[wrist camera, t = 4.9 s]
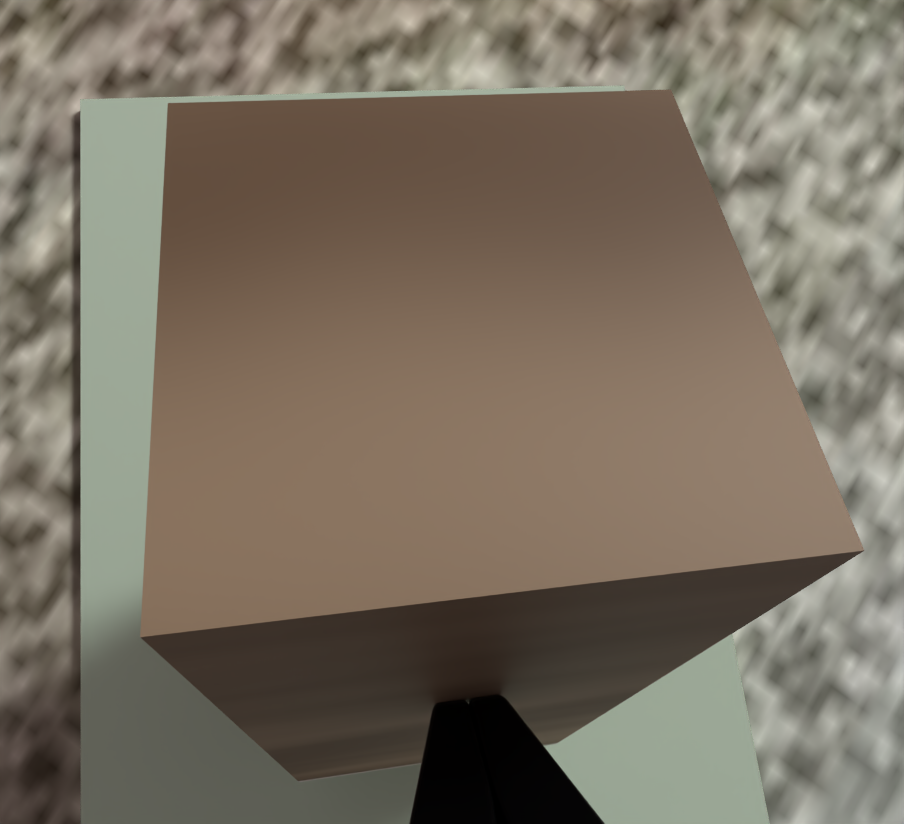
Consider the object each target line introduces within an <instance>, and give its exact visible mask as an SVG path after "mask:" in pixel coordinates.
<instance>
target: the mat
mask: <svg viewBox="0 0 904 824" xmlns="http://www.w3.org/2000/svg"><path fill="white" fill-rule="evenodd" d="M604 91H625V89H624V86H587V87H548V88H508V89H469V90H430V91H391V92H352V93H312V94H273V95H234V96H195V97H156V98H116V99H80V243H81V824H409V822H410V817H411V812H412V807H413V802H414V797H415V792H416V788H417V783H418V778H419V773H420V768H421V764H418V765H411V766H404V767H397V768H391V769H384V770H377V771H371V772H364V773H357V774H351V775H344V776H337V777H330V778H324V779H317V780H310V781H304V782H298V781H297V780H296V779H295V778H294V777H293V776H292V775H291V774H290V773H289V772H288V771H286V770H285V769H284V768H283V767H282V766H281V765H280V764H279V763H278V762H277V761H275V760H274V759H273V758H272V757H271V756H270V755H269V754H268V753H267V752H266V751H264V750H263V749H262V748H261V747H260V746H259V745H258V744H257V743H256V742H255V741H254V740H252V739H251V738H250V737H249V736H248V735H247V734H246V733H245V732H244V731H243V730H241V729H240V728H239V727H238V726H237V725H236V724H235V723H234V722H233V721H232V720H230V719H229V718H228V717H227V716H226V715H225V714H224V713H223V712H222V711H221V710H220V709H218V708H217V707H216V706H215V705H214V704H213V703H212V702H211V701H210V700H209V699H207V698H206V697H205V696H204V695H203V694H202V693H201V692H200V691H199V690H198V689H196V688H195V687H194V686H193V685H192V684H191V683H190V682H189V681H188V680H187V679H186V678H184V677H183V676H182V675H181V674H180V673H179V672H178V671H177V670H176V669H175V668H173V667H172V666H171V665H170V664H169V663H168V662H167V661H166V660H165V659H164V658H162V657H161V656H160V655H159V654H158V653H157V652H156V651H155V650H154V649H153V648H152V647H150V646H149V645H148V644H147V643H146V642H145V641H144V640H143V639H142V638H141V637H140V631H141V612H142V593H143V573H144V554H145V535H146V515H147V496H148V476H149V457H150V438H151V418H152V399H153V380H154V360H155V341H156V321H157V302H158V283H159V263H160V244H161V225H162V205H163V186H164V166H165V147H166V128H167V108H168V103H189V102H227V101H264V100H302V99H340V98H377V97H415V96H453V95H491V94H528V93H566V92H604ZM544 747H545V748H546V750H547V751H548V752H549V753H550V755H551V756H552V757H553V758H554V760H555V761H556V762H557V763H558V765H559V766H560V767H561V769H562V770H563V771H564V772H565V774H566V775H567V776H568V777H569V779H570V780H571V781H572V783H573V784H574V785H575V786H576V788H577V789H578V790H579V791H580V793H581V794H582V795H583V797H584V798H585V799H586V800H587V802H588V803H589V804H590V805H591V807H592V808H593V809H594V810H595V812H596V813H597V814H598V816H599V817H600V818H601V819H602V821H603V822H604V823H605V824H770V823H769V818H768V813H767V808H766V803H765V798H764V793H763V788H762V783H761V778H760V773H759V767H758V762H757V757H756V752H755V747H754V742H753V737H752V732H751V727H750V722H749V717H748V712H747V707H746V702H745V697H744V691H743V686H742V681H741V676H740V671H739V666H738V661H737V656H736V651H735V646H734V641H733V636H732V634H730V635H729V636H727V637H726V638H724V639H723V640H721V641H719V642H718V643H716V644H715V645H713V646H711V647H710V648H708V649H707V650H705V651H703V652H702V653H700V654H699V655H697V656H695V657H694V658H692V659H691V660H689V661H687V662H686V663H684V664H683V665H681V666H679V667H678V668H676V669H675V670H673V671H672V672H670V673H668V674H667V675H665V676H664V677H662V678H660V679H659V680H657V681H656V682H654V683H652V684H651V685H649V686H648V687H646V688H644V689H643V690H641V691H640V692H638V693H636V694H635V695H633V696H632V697H630V698H629V699H627V700H625V701H624V702H622V703H621V704H619V705H617V706H616V707H614V708H613V709H611V710H609V711H608V712H606V713H605V714H603V715H601V716H600V717H598V718H597V719H595V720H593V721H592V722H590V723H589V724H587V725H585V726H584V727H582V728H581V729H579V730H578V731H576V732H574V733H573V734H571V735H570V736H568V737H566V738H565V739H563V740H562V741H560V742H558V743H557V744H552V745H545V746H544Z"/></svg>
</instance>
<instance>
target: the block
mask: <svg viewBox="0 0 904 824" xmlns="http://www.w3.org/2000/svg"><path fill="white" fill-rule="evenodd" d="M863 551H864V549H863V546H862V544H861V542H860V539H859V537H858V534H857V532H856V530H855V527H854V525H853V523H852V520H851V518H850V515H849V513H848V511H847V508H846V506H845V503H844V501H843V499H842V496H841V494H840V492H839V489H838V487H837V484H836V482H835V480H834V477H833V475H832V473H831V470H830V468H829V465H828V463H827V461H826V458H825V456H824V453H823V451H822V449H821V446H820V444H819V442H818V439H817V437H816V434H815V432H814V430H813V427H812V425H811V422H810V420H809V418H808V415H807V413H806V411H805V408H804V406H803V403H802V401H801V399H800V396H799V394H798V391H797V389H796V387H795V384H794V382H793V380H792V377H791V375H790V372H789V370H788V368H787V365H786V363H785V360H784V358H783V356H782V353H781V351H780V349H779V346H778V344H777V341H776V339H775V337H774V334H773V332H772V330H771V327H770V325H769V322H768V320H767V318H766V315H765V313H764V310H763V308H762V306H761V303H760V301H759V299H758V296H757V294H756V291H755V289H754V287H753V284H752V282H751V279H750V277H749V275H748V272H747V270H746V268H745V265H744V263H743V260H742V258H741V256H740V253H739V251H738V248H737V246H736V244H735V241H734V239H733V237H732V234H731V232H730V229H729V227H728V225H727V222H726V220H725V217H724V215H723V213H722V210H721V208H720V206H719V203H718V201H717V198H716V196H715V194H714V191H713V189H712V186H711V184H710V182H709V179H708V177H707V175H706V172H705V170H704V167H703V165H702V163H701V160H700V158H699V156H698V153H697V151H696V148H695V146H694V144H693V141H692V139H691V136H690V134H689V132H688V129H687V127H686V125H685V122H684V120H683V117H682V115H681V113H680V110H679V108H678V105H677V103H676V101H675V98H674V96H673V94H672V91H671V90H641V91H604V92H566V93H528V94H491V95H453V96H415V97H377V98H340V99H302V100H264V101H227V102H189V103H168V108H167V128H166V147H165V166H164V186H163V205H162V225H161V244H160V263H159V283H158V302H157V321H156V341H155V360H154V380H153V399H152V418H151V438H150V457H149V476H148V496H147V515H146V535H145V554H144V573H143V593H142V612H141V631H140V637H141V638H142V639H143V640H144V641H145V642H146V643H147V644H148V645H149V646H150V647H152V648H153V649H154V650H155V651H156V652H157V653H158V654H159V655H160V656H161V657H162V658H164V659H165V660H166V661H167V662H168V663H169V664H170V665H171V666H172V667H173V668H175V669H176V670H177V671H178V672H179V673H180V674H181V675H182V676H183V677H184V678H186V679H187V680H188V681H189V682H190V683H191V684H192V685H193V686H194V687H195V688H196V689H198V690H199V691H200V692H201V693H202V694H203V695H204V696H205V697H206V698H207V699H209V700H210V701H211V702H212V703H213V704H214V705H215V706H216V707H217V708H218V709H220V710H221V711H222V712H223V713H224V714H225V715H226V716H227V717H228V718H229V719H230V720H232V721H233V722H234V723H235V724H236V725H237V726H238V727H239V728H240V729H241V730H243V731H244V732H245V733H246V734H247V735H248V736H249V737H250V738H251V739H252V740H254V741H255V742H256V743H257V744H258V745H259V746H260V747H261V748H262V749H263V750H264V751H266V752H267V753H268V754H269V755H270V756H271V757H272V758H273V759H274V760H275V761H277V762H278V763H279V764H280V765H281V766H282V767H283V768H284V769H285V770H286V771H288V772H289V773H290V774H291V775H292V776H293V777H294V778H295V779H296V780H297V781H298V782H304V781H310V780H317V779H324V778H330V777H337V776H344V775H351V774H357V773H364V772H371V771H377V770H384V769H391V768H397V767H404V766H411V765H418V764H421V763H422V758H423V753H424V748H425V743H426V738H427V733H428V728H429V723H430V718H431V713H432V709H433V707H434V705H435V704H436V703H441V702H448V701H455V700H465V701H467V703H468V704H469V701H470V700H471V699H473V698H477V697H484V696H491V695H502V696H503V697H505V698H506V699H507V700H508V701H509V703H510V704H511V705H512V706H513V708H514V709H515V710H516V711H517V713H518V714H519V715H520V717H521V718H522V719H523V720H524V722H525V723H526V724H527V725H528V727H529V728H530V729H531V730H532V732H533V733H534V734H535V736H536V737H537V738H538V739H539V741H540V742H541V743H542V744H543V746H545V745H552V744H557V743H558V742H560V741H562V740H563V739H565V738H566V737H568V736H570V735H571V734H573V733H574V732H576V731H578V730H579V729H581V728H582V727H584V726H585V725H587V724H589V723H590V722H592V721H593V720H595V719H597V718H598V717H600V716H601V715H603V714H605V713H606V712H608V711H609V710H611V709H613V708H614V707H616V706H617V705H619V704H621V703H622V702H624V701H625V700H627V699H629V698H630V697H632V696H633V695H635V694H636V693H638V692H640V691H641V690H643V689H644V688H646V687H648V686H649V685H651V684H652V683H654V682H656V681H657V680H659V679H660V678H662V677H664V676H665V675H667V674H668V673H670V672H672V671H673V670H675V669H676V668H678V667H679V666H681V665H683V664H684V663H686V662H687V661H689V660H691V659H692V658H694V657H695V656H697V655H699V654H700V653H702V652H703V651H705V650H707V649H708V648H710V647H711V646H713V645H715V644H716V643H718V642H719V641H721V640H723V639H724V638H726V637H727V636H729V635H730V634H732V633H734V632H735V631H737V630H738V629H740V628H742V627H743V626H745V625H746V624H748V623H750V622H751V621H753V620H754V619H756V618H758V617H759V616H761V615H762V614H764V613H766V612H767V611H769V610H770V609H772V608H773V607H775V606H777V605H778V604H780V603H781V602H783V601H785V600H786V599H788V598H789V597H791V596H793V595H794V594H796V593H797V592H799V591H801V590H802V589H804V588H805V587H807V586H809V585H810V584H812V583H813V582H815V581H817V580H818V579H820V578H821V577H823V576H824V575H826V574H828V573H829V572H831V571H832V570H834V569H836V568H837V567H839V566H840V565H842V564H844V563H845V562H847V561H848V560H850V559H852V558H853V557H855V556H856V555H858V554H860V553H861V552H863Z"/></svg>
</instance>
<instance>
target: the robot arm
mask: <svg viewBox="0 0 904 824" xmlns="http://www.w3.org/2000/svg"><path fill="white" fill-rule="evenodd" d="M409 824H605V823H604V822H603V821H602V819H601V818H600V817H599V816H598V814H597V813H596V812H595V810H594V809H593V808H592V807H591V805H590V804H589V803H588V802H587V800H586V799H585V798H584V797H583V795H582V794H581V793H580V791H579V790H578V789H577V788H576V786H575V785H574V784H573V783H572V781H571V780H570V779H569V777H568V776H567V775H566V774H565V772H564V771H563V770H562V769H561V767H560V766H559V765H558V763H557V762H556V761H555V760H554V758H553V757H552V756H551V755H550V753H549V752H548V751H547V750H546V748H545V747H544V746H543V744H542V743H541V742H540V741H539V739H538V738H537V737H536V736H535V734H534V733H533V732H532V730H531V729H530V728H529V727H528V725H527V724H526V723H525V722H524V720H523V719H522V718H521V717H520V715H519V714H518V713H517V711H516V710H515V709H514V708H513V706H512V705H511V704H510V703H509V701H508V700H507V699H506V698H505V697H503V696H502V695H491V696H484V697H477V698H473V699H471V700H470V701H469V704H468V703H467V701H465V700H455V701H448V702H441V703H436V704H435V705H434V707H433V709H432V713H431V718H430V723H429V728H428V733H427V738H426V743H425V748H424V753H423V758H422V763H421V768H420V773H419V778H418V783H417V788H416V792H415V797H414V802H413V807H412V812H411V817H410V822H409Z"/></svg>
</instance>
